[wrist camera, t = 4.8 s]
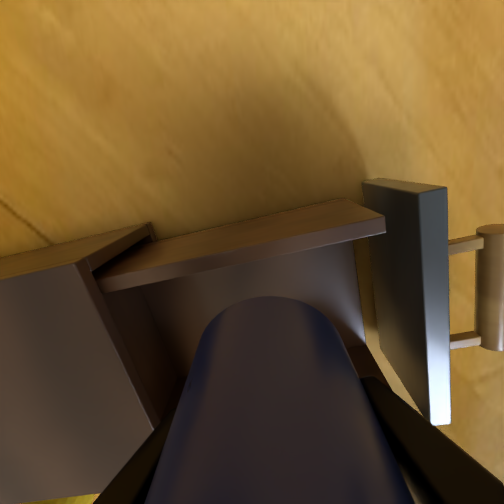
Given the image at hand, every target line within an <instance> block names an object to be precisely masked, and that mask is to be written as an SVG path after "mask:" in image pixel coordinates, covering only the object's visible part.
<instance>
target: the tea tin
mask: <svg viewBox="0 0 504 504" xmlns="http://www.w3.org/2000/svg"><path fill="white" fill-rule="evenodd" d="M144 504H415V502H414V499H413V497H412V495H411V493H410V491H409V488H408V486H407V484H406V482H405V479H404V477H403V475H402V473H401V470H400V468H399V466H398V464H397V462H396V459H395V457H394V455H393V453H392V450H391V448H390V446H389V444H388V441H387V439H386V437H385V435H384V433H383V430H382V428H381V426H380V424H379V421H378V419H377V417H376V415H375V412H374V410H373V408H372V406H371V404H370V401H369V399H368V397H367V395H366V392H365V390H364V388H363V386H362V383H361V381H360V379H359V377H358V375H357V372H356V370H355V368H354V366H353V363H352V361H351V359H350V357H349V354H348V352H347V350H346V348H345V346H344V343H343V341H342V339H341V337H340V334H339V332H338V331H337V329H336V328H335V326H334V325H333V323H332V322H331V321H330V320H329V319H328V318H327V317H326V316H325V315H324V314H323V313H321V312H320V311H318V310H317V309H315V308H314V307H312V306H310V305H308V304H306V303H304V302H301V301H298V300H295V299H291V298H287V297H279V296H261V297H254V298H250V299H246V300H243V301H240V302H238V303H235V304H233V305H231V306H229V307H228V308H226V309H224V310H223V311H222V312H220V313H219V314H218V315H217V316H216V317H215V318H213V319H212V320H211V322H210V323H209V324H208V326H207V327H206V328H205V330H204V332H203V334H202V336H201V339H200V341H199V344H198V347H197V350H196V353H195V356H194V359H193V362H192V365H191V368H190V371H189V374H188V377H187V380H186V383H185V386H184V388H183V391H182V394H181V397H180V400H179V403H178V406H177V409H176V412H175V415H174V418H173V421H172V424H171V427H170V430H169V433H168V436H167V439H166V441H165V444H164V447H163V450H162V453H161V456H160V459H159V462H158V465H157V468H156V471H155V474H154V477H153V480H152V483H151V486H150V489H149V492H148V494H147V497H146V500H145V503H144Z"/></svg>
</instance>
